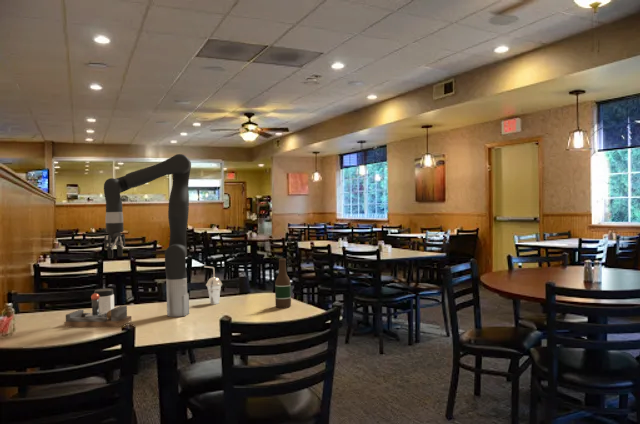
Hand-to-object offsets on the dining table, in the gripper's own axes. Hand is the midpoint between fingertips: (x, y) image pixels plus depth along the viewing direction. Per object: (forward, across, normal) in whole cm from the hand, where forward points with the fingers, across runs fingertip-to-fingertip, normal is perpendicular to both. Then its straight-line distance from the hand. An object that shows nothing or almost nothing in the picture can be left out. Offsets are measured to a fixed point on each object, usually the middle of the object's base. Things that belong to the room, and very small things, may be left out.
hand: (115, 257), depth 223 cm
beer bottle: (+28, +26, -73) cm, 82 cm away
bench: (+28, -10, +3) cm, 30 cm away
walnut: (+26, -10, -3) cm, 28 cm away
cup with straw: (+28, +34, -35) cm, 56 cm away
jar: (+28, +7, +10) cm, 31 cm away
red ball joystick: (+26, -10, +4) cm, 28 cm away
